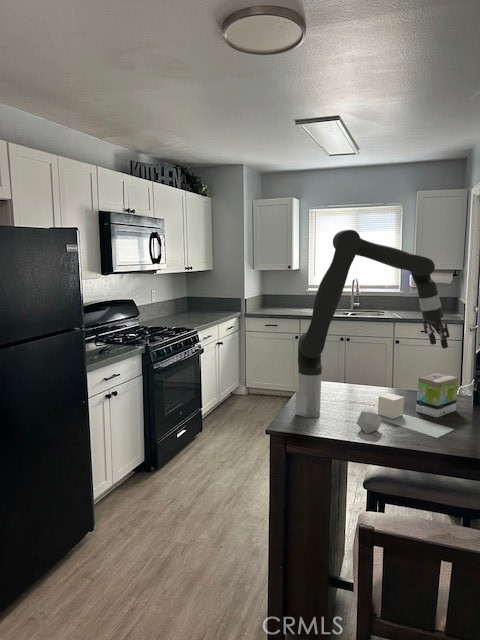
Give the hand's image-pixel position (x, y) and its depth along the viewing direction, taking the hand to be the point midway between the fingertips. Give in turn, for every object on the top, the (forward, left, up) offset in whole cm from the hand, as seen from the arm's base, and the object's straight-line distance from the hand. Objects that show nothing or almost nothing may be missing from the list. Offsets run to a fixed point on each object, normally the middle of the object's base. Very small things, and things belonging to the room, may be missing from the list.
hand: (439, 346), depth 185 cm
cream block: (-17, +10, -28) cm, 34 cm away
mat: (-17, +1, -28) cm, 33 cm away
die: (-37, +6, -29) cm, 47 cm away
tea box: (+4, +2, -29) cm, 29 cm away
